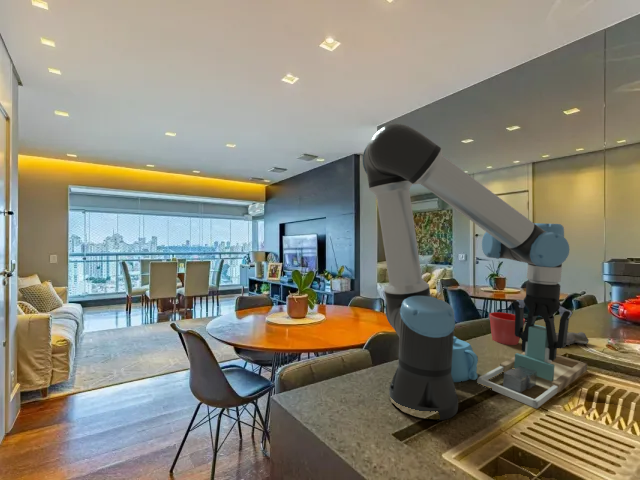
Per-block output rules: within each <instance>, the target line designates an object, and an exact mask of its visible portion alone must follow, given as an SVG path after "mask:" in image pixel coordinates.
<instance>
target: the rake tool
mask: <svg viewBox="0 0 640 480" xmlns="http://www.w3.org/2000/svg"><path fill="white" fill-rule="evenodd" d="M547 346H549V344H548V338H547V331H546V326H544V325H540V324H539V325H538V324H534V325H533V326H531V327H529V331H528V346H527V356H525V355H522V354H521V353H519V352H516V353H514V357H515V362H514V368H517V367H519V366H522V367H525V368H528V369H531V370H534V371H537V376H538V377H541V378H544V379H547V380H549V381H553V380H554V367H555V365H554V364H551V363H547V362H544V360H545V347H547Z"/></svg>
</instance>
